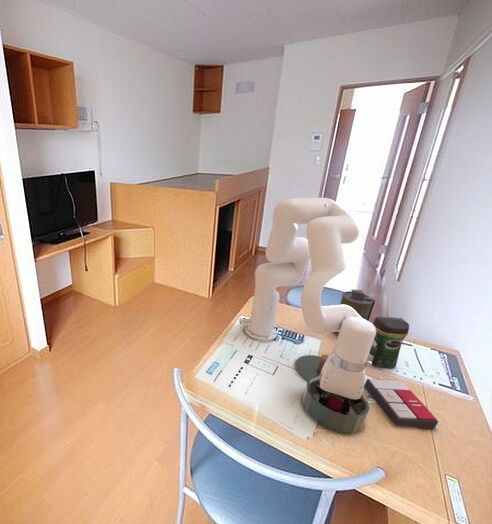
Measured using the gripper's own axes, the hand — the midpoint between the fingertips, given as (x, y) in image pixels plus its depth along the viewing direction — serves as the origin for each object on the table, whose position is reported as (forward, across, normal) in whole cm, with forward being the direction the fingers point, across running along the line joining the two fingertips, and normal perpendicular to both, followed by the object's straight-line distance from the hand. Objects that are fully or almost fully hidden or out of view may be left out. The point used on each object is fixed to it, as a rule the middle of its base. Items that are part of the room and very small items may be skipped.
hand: (332, 408), depth 91 cm
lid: (+1, +2, -17) cm, 17 cm away
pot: (+1, 0, 0) cm, 1 cm away
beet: (+1, 0, 0) cm, 1 cm away
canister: (+1, -9, -49) cm, 50 cm away
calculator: (+1, -18, -11) cm, 21 cm away
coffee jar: (+1, -17, -33) cm, 37 cm away
